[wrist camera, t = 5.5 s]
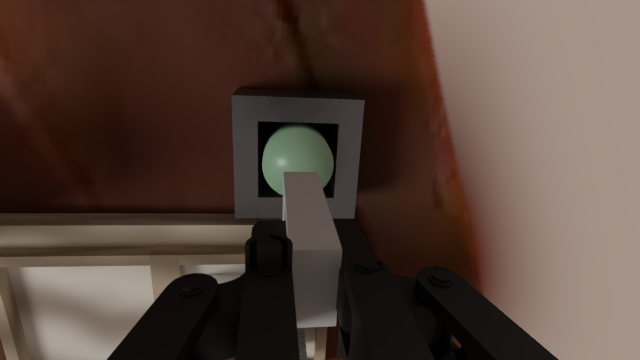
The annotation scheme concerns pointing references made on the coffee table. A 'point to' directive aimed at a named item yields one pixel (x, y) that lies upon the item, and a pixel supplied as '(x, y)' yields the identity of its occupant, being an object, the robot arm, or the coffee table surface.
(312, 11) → the coffee table surface
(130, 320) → the beige divided tray
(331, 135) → the grey square frame block
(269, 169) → the button
